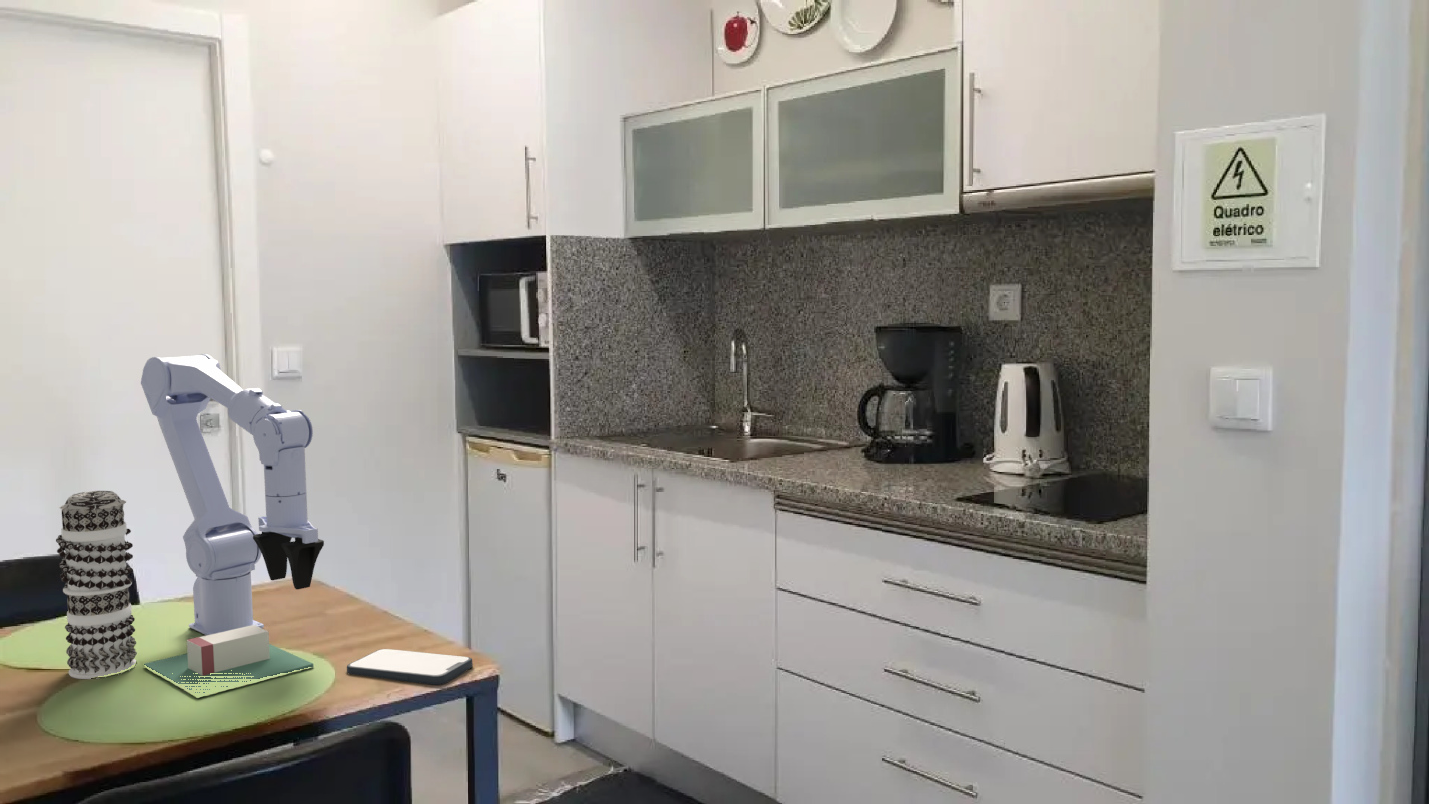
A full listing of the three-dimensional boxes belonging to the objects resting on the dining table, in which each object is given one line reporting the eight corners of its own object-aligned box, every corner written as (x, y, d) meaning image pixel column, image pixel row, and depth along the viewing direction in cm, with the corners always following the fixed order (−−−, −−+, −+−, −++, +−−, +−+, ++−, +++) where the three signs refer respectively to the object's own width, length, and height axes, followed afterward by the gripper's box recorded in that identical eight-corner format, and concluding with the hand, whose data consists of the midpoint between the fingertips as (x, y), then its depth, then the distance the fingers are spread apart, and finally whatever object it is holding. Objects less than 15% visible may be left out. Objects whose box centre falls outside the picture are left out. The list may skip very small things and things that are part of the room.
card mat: (143, 667, 157) (143, 663, 157) (254, 641, 169) (254, 637, 168) (198, 699, 145) (197, 694, 145) (313, 667, 156) (313, 663, 156)
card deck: (254, 651, 162) (253, 624, 161) (269, 658, 159) (268, 631, 158) (188, 668, 155) (186, 639, 154) (202, 675, 152) (200, 647, 151)
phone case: (342, 677, 154) (441, 688, 149) (341, 666, 154) (440, 677, 149) (382, 658, 163) (476, 667, 157) (381, 647, 162) (476, 656, 157)
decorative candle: (65, 664, 158) (53, 491, 156) (138, 654, 163) (128, 485, 160) (64, 684, 150) (52, 502, 148) (141, 672, 155) (130, 495, 152)
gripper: (237, 491, 166) (241, 580, 168) (283, 503, 157) (287, 597, 158) (282, 485, 171) (286, 571, 173) (329, 496, 162) (333, 587, 163)
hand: (290, 583), depth 166 cm, fingers open, 7 cm apart
